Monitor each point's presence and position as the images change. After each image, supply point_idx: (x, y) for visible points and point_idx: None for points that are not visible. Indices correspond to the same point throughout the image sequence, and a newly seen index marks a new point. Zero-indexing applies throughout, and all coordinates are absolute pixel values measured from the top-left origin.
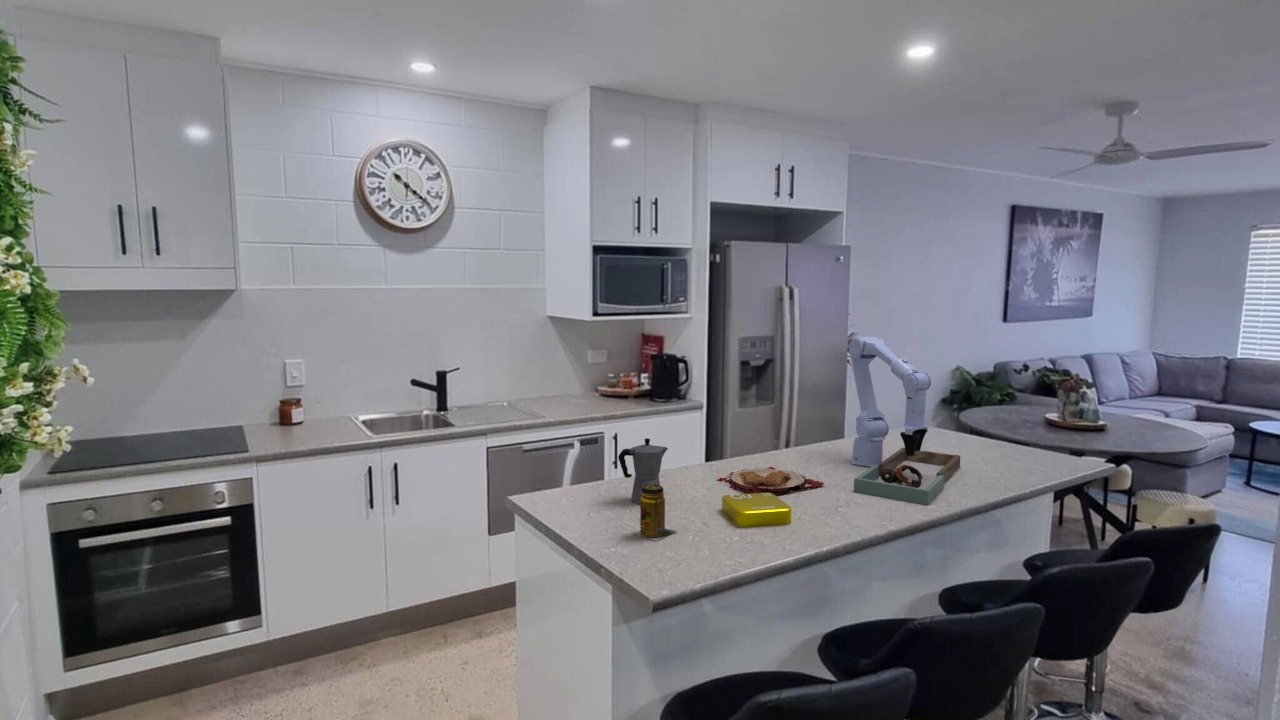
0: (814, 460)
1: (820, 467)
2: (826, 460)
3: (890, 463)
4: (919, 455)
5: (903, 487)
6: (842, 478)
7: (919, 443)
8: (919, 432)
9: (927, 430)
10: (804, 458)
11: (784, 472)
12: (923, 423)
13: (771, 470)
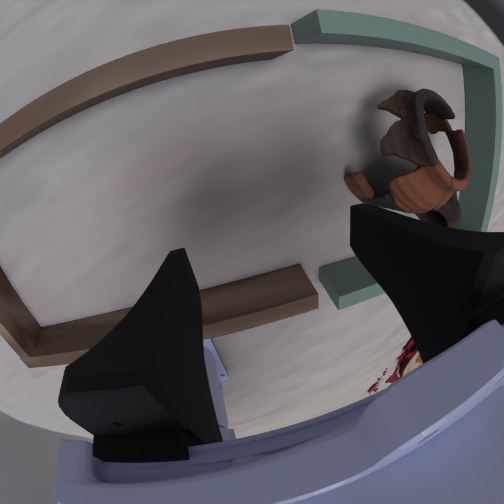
0: (263, 409)
1: (312, 380)
2: (242, 405)
3: (212, 311)
4: (6, 309)
5: (501, 124)
6: (378, 310)
7: (181, 290)
8: (184, 393)
9: (79, 378)
10: (263, 419)
11: (412, 360)
12: (494, 449)
13: (407, 372)
